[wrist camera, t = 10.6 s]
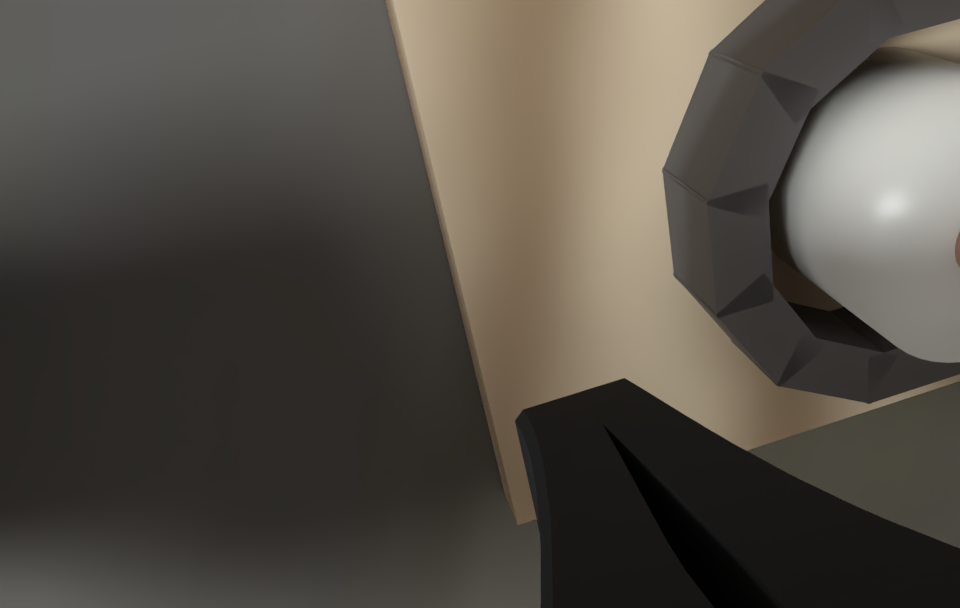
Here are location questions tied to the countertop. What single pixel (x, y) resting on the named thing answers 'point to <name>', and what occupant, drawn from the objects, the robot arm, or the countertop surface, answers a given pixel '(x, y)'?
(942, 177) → the cap
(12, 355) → the countertop surface
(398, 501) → the countertop surface
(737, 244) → the board
